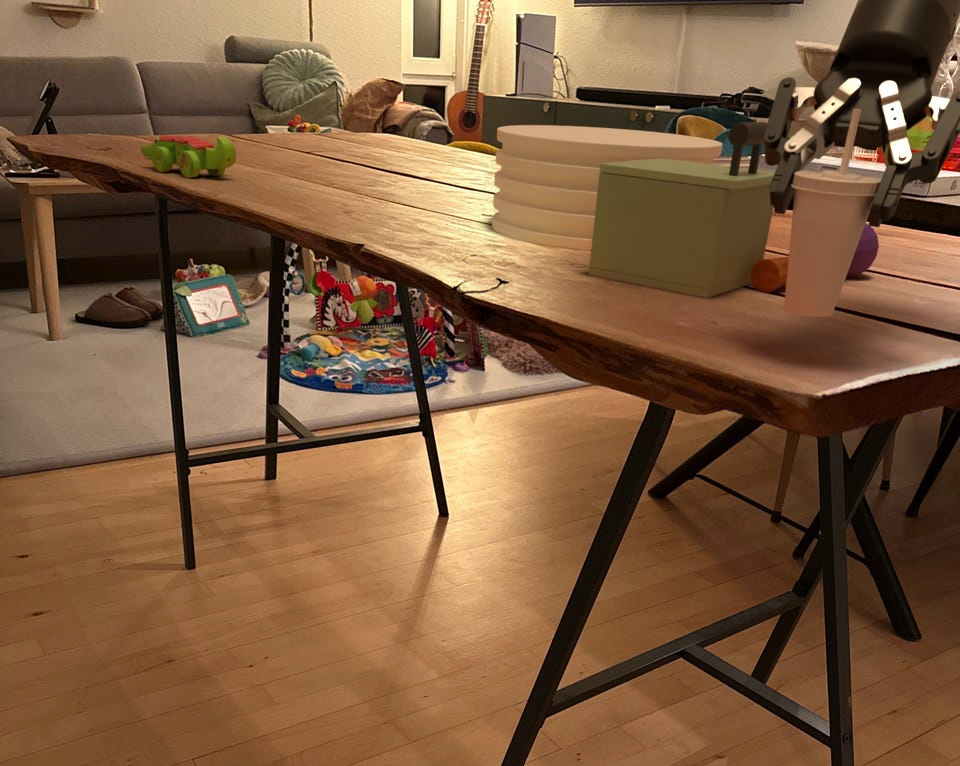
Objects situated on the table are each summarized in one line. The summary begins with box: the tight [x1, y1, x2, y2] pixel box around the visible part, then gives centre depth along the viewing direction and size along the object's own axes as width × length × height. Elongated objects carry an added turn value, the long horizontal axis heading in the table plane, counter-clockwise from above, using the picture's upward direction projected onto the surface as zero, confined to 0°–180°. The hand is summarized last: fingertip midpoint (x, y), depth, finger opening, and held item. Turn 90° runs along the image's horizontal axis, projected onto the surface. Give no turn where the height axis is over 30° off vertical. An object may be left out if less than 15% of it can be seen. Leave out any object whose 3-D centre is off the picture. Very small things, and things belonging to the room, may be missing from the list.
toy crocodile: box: [140, 135, 237, 179], centre depth 154 cm, size 20×7×6 cm, turn 50°
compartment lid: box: [600, 121, 776, 190], centre depth 96 cm, size 15×13×5 cm
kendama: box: [751, 222, 880, 294], centre depth 104 cm, size 6×6×20 cm
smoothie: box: [783, 109, 882, 318], centre depth 72 cm, size 6×6×14 cm
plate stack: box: [491, 124, 723, 251], centre depth 123 cm, size 28×28×12 cm
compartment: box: [588, 172, 774, 299], centre depth 100 cm, size 14×13×10 cm
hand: (825, 212), depth 71 cm, fingers closed on smoothie, 6 cm apart
